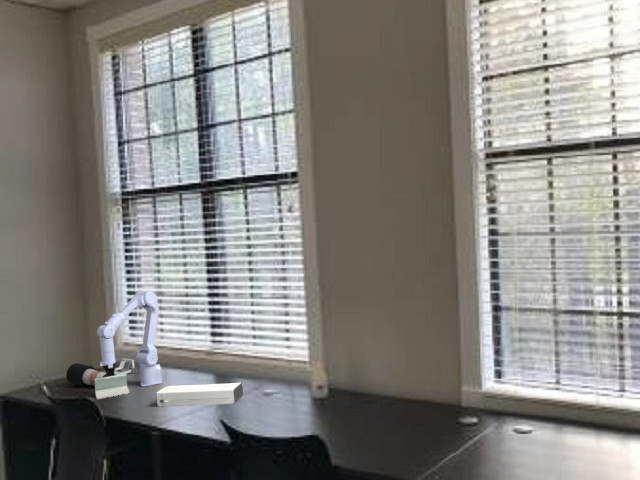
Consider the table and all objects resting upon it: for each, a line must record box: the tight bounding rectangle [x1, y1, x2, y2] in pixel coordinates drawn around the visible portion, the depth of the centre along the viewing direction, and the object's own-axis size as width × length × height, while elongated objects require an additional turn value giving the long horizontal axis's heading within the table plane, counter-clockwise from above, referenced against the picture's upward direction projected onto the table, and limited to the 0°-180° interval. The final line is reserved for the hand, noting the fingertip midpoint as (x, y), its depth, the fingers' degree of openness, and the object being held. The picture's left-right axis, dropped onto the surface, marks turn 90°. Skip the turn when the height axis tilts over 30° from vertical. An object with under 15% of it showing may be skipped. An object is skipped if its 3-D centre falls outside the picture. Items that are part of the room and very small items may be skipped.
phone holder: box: [99, 357, 138, 376], centre depth 361 cm, size 18×10×12 cm
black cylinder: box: [65, 362, 114, 388], centre depth 337 cm, size 10×34×10 cm, turn 57°
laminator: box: [155, 382, 244, 407], centre depth 293 cm, size 34×12×6 cm, turn 79°
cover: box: [94, 373, 128, 391], centre depth 319 cm, size 14×7×1 cm
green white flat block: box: [94, 384, 130, 400], centre depth 318 cm, size 14×7×2 cm, turn 112°
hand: (110, 380), depth 319 cm, fingers closed, pressing on cover
